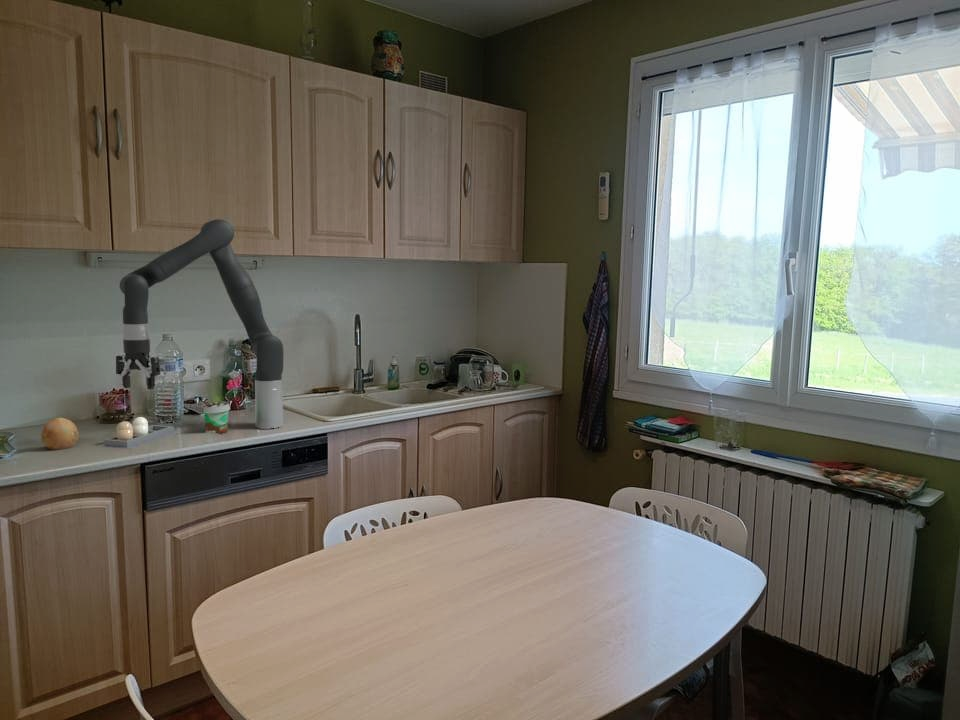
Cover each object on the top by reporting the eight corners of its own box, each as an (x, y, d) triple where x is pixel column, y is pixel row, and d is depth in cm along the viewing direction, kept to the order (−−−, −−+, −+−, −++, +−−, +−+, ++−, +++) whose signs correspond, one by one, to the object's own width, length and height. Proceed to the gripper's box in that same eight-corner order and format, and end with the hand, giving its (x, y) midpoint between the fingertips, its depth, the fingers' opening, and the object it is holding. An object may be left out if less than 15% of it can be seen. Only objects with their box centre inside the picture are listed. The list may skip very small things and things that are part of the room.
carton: (149, 432, 228) (149, 424, 228) (181, 434, 226) (180, 426, 226) (96, 449, 205) (96, 440, 205) (130, 451, 203) (130, 442, 202)
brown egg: (124, 441, 211) (123, 419, 210) (136, 442, 210) (135, 420, 209) (113, 444, 207) (112, 422, 206) (126, 445, 206) (125, 423, 205)
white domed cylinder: (139, 436, 218) (138, 415, 217) (151, 437, 217) (150, 416, 216) (130, 439, 214) (129, 418, 213) (142, 440, 213) (141, 418, 212)
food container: (222, 437, 223) (221, 407, 222) (204, 436, 224) (203, 407, 222) (236, 428, 236) (235, 401, 234) (219, 428, 236) (218, 400, 235)
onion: (73, 453, 199) (71, 421, 198) (35, 455, 197) (33, 421, 196) (84, 445, 209) (83, 414, 207) (49, 446, 206) (47, 415, 205)
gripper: (164, 337, 214) (166, 387, 216) (125, 336, 216) (127, 385, 218) (148, 339, 206) (150, 391, 208) (108, 338, 209) (110, 389, 211)
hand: (138, 388), depth 213 cm, fingers open, 8 cm apart
